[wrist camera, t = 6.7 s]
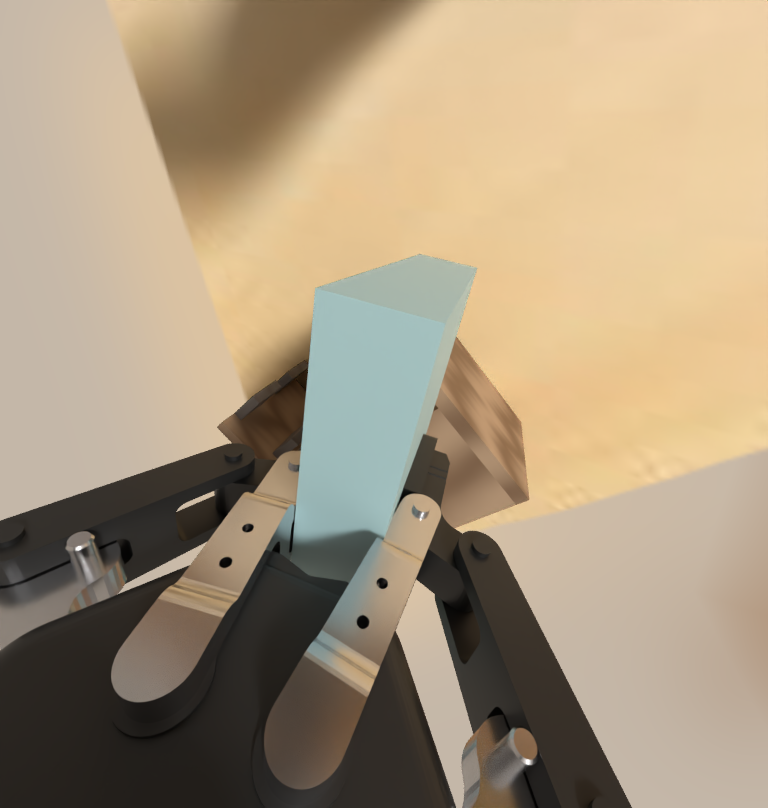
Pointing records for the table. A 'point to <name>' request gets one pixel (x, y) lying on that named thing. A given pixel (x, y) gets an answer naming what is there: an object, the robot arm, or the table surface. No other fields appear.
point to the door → (370, 402)
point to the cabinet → (450, 422)
